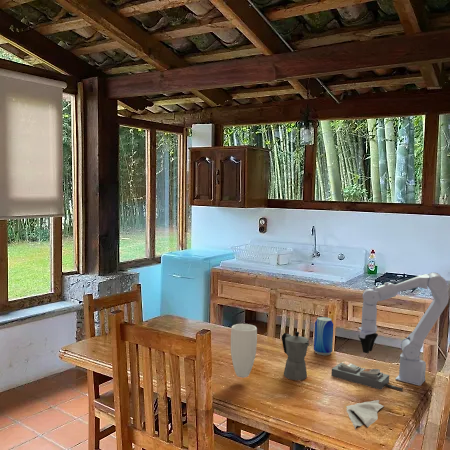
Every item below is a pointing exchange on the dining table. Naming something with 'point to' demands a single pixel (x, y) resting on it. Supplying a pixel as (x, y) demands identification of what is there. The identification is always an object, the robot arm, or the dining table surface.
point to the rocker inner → (371, 371)
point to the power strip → (363, 377)
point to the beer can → (323, 336)
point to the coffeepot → (295, 356)
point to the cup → (243, 348)
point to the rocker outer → (349, 365)
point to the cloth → (364, 412)
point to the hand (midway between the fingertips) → (367, 351)
